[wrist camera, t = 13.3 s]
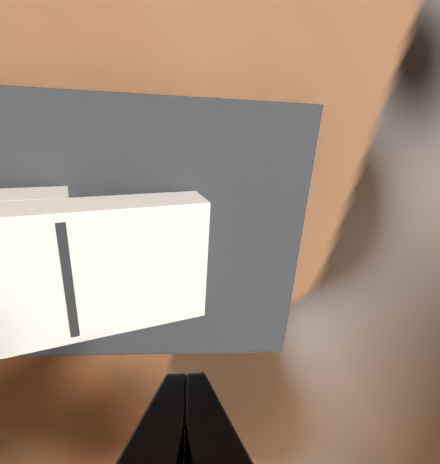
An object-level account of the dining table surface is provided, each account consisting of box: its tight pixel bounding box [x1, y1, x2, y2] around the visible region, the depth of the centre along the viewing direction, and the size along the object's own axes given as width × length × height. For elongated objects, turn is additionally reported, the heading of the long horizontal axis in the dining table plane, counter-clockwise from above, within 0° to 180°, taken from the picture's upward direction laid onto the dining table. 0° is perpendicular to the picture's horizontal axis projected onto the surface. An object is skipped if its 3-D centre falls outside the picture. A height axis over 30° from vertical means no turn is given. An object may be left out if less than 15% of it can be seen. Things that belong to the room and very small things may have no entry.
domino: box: [0, 191, 211, 359], centre depth 12 cm, size 5×2×10 cm
